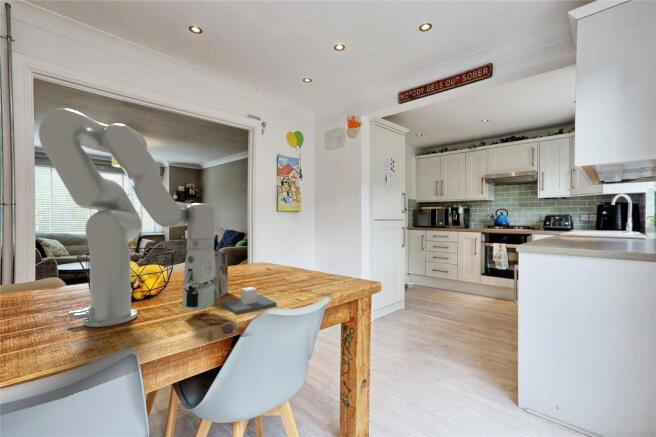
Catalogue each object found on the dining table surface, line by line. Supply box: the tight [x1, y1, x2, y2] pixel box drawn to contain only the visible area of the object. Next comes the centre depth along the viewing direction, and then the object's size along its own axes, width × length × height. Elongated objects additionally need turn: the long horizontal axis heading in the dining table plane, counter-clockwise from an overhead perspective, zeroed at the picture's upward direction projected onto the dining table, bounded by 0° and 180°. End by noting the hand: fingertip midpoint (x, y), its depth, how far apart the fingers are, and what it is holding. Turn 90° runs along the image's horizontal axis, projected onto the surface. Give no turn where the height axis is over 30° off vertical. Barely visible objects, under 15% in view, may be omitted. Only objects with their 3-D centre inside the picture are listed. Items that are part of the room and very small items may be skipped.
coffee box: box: [211, 250, 229, 300], centre depth 113 cm, size 9×6×16 cm
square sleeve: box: [181, 284, 215, 311], centre depth 92 cm, size 6×6×6 cm
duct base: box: [221, 286, 277, 315], centre depth 101 cm, size 14×12×6 cm
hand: (198, 302), depth 92 cm, fingers closed on square sleeve, 6 cm apart
